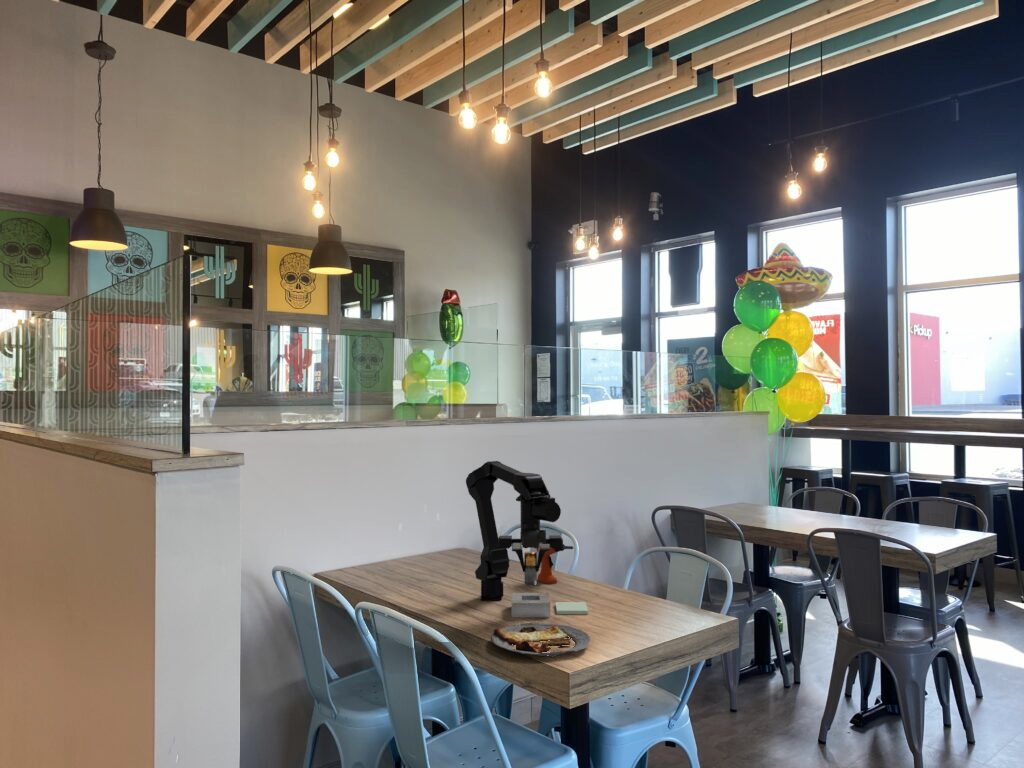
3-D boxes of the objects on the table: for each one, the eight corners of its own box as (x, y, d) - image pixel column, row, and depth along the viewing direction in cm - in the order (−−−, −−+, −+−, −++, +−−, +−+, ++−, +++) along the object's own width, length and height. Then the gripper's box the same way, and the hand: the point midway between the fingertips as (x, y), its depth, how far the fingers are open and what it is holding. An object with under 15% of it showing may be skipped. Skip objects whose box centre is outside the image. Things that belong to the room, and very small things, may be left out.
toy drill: (570, 587, 247) (566, 539, 249) (534, 582, 262) (531, 538, 264) (581, 584, 250) (577, 537, 251) (545, 580, 265) (542, 536, 267)
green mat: (556, 614, 222) (556, 610, 222) (555, 605, 231) (555, 602, 231) (588, 614, 222) (588, 610, 222) (585, 605, 231) (585, 602, 231)
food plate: (504, 664, 181) (505, 649, 181) (480, 635, 203) (480, 622, 203) (603, 656, 188) (604, 642, 188) (569, 629, 210) (570, 616, 210)
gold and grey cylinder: (524, 585, 223) (524, 554, 223) (524, 582, 226) (524, 551, 227) (537, 585, 223) (536, 554, 223) (536, 582, 226) (536, 551, 227)
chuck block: (511, 617, 219) (511, 603, 219) (512, 606, 230) (511, 593, 230) (550, 617, 219) (550, 603, 219) (548, 606, 230) (548, 592, 230)
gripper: (497, 522, 217) (497, 578, 217) (564, 522, 217) (564, 578, 217) (498, 516, 228) (498, 569, 228) (561, 516, 228) (562, 569, 228)
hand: (530, 571), depth 225 cm, fingers closed on gold and grey cylinder, 4 cm apart
